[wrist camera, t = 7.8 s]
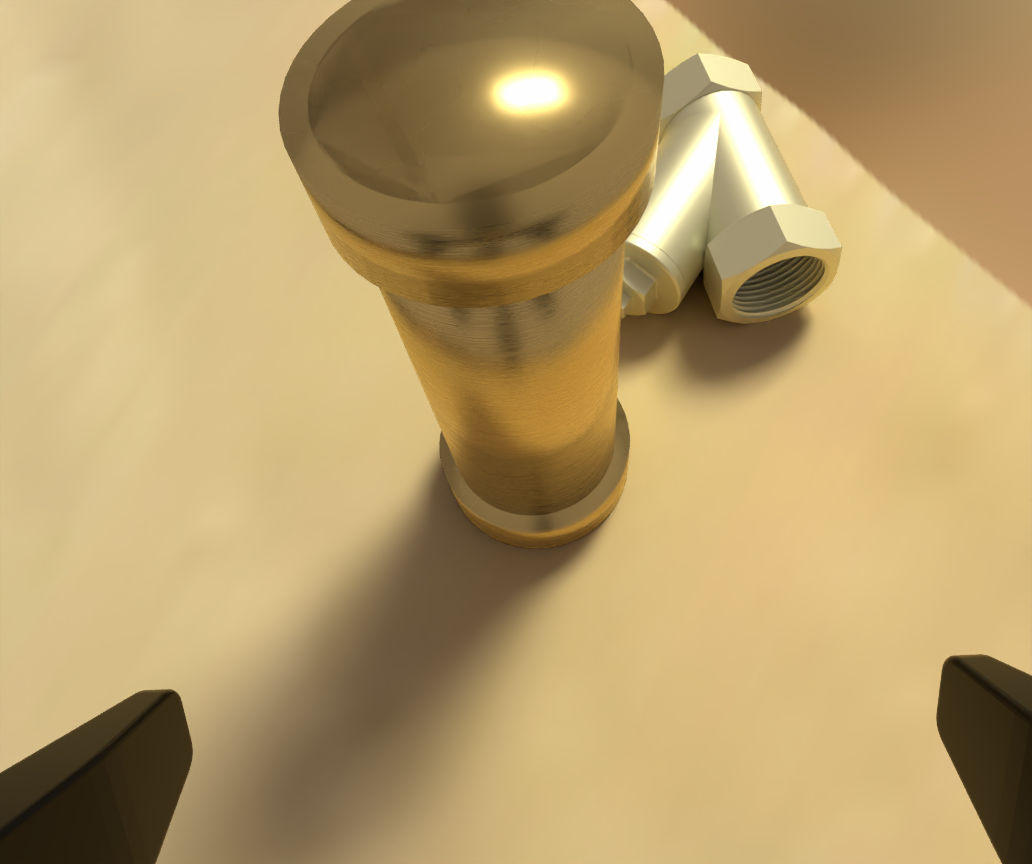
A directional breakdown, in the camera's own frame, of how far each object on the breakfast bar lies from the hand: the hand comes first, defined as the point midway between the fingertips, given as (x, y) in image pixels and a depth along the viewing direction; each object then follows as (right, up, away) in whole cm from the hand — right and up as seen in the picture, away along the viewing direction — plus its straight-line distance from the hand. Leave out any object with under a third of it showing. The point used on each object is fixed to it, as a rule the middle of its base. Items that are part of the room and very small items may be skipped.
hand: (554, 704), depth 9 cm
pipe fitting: (+5, +10, +16) cm, 20 cm away
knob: (0, +2, +13) cm, 13 cm away
